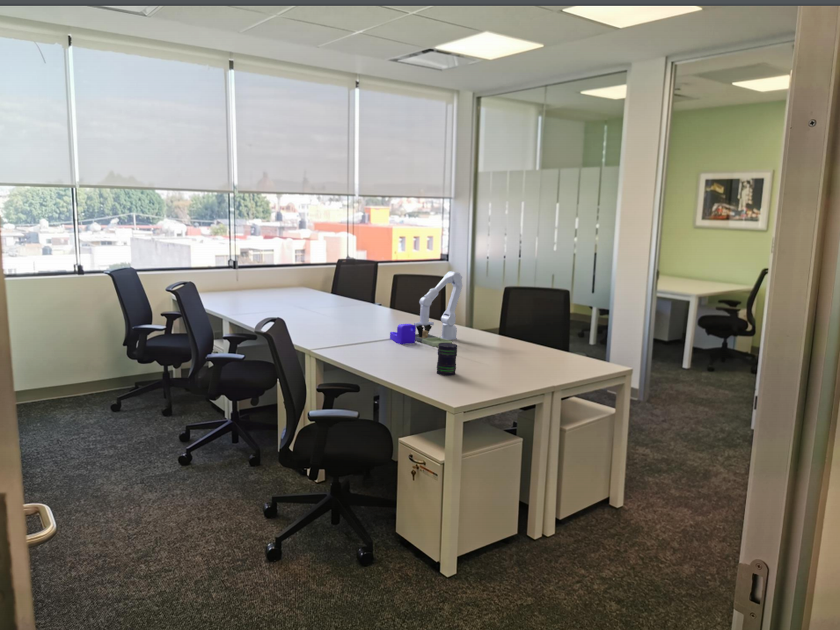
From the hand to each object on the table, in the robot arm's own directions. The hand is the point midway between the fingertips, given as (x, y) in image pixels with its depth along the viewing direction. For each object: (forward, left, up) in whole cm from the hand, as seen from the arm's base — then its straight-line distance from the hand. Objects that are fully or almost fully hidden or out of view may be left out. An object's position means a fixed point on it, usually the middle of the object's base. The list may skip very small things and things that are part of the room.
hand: (423, 336), depth 402 cm
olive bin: (0, +14, -2) cm, 14 cm away
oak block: (0, 0, -1) cm, 1 cm away
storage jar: (+42, +73, -2) cm, 85 cm away
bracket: (+17, -3, -2) cm, 17 cm away
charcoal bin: (0, 0, -2) cm, 2 cm away
